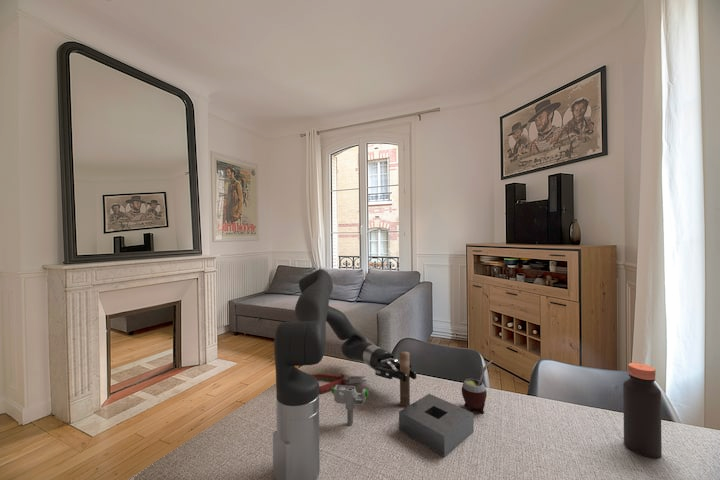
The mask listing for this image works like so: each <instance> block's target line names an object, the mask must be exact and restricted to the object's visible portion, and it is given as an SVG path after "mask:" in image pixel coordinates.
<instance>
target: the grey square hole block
mask: <svg viewBox="0 0 720 480" xmlns="http://www.w3.org/2000/svg"><path fill="white" fill-rule="evenodd" d="M474 423H475V422H474V412H473V411H472V412H470V411H468V409H465V408H463V407H460V406H458V405H456V404H455V403H452V402H449V401H447V400H445V399H443V398H440V397H438V396H436V395H433V394H431V393H428V394H427V395H425V396H423V397H422V398H420V399H418V400H416V401H415V402H412V403H410V405H409V406H407V407H403V408H402V409H400V410H399V411H398V430H399V431H400V432H401V433H403V434H405V435H407V436H408V437H410V438H411V439H414V440H415V441H417V442H418V443H420V444H422V445H424V446H425V447H426V448H428V449H431V450H432V451H433V452H435V453H437V454H438V455H440V456H441V457H443V458H445V457H447V456H448V455H449V454H450V453H451V452H452V451H454V450H455V449H456V448H457V447H458V446H460V444H462V443H463V441H465V440H466V439H467V438H469V437H470V435H472V434H473V433H474V429H475V428H474Z"/></svg>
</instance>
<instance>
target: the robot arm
mask: <svg viewBox="0 0 720 480" xmlns="http://www.w3.org/2000/svg"><path fill="white" fill-rule="evenodd" d="M333 285H334V284H333V279H332V276H331V275H330V274H329V273H328V271H326V270H324V269H323V268H322V269H317V270H315V271H313V272H311V273H310V274H307V275H305V276H303V277H302V278H300V279H299V281H298V287H299V290H300V292H301V293H300V295H299V296H298V299H297V300H296V301H297V302H296V304H295V307H294V313H295V317H296V319H297V321H283V322H281V323H279V324H278V326H277V327H276V330H275V332H274V340H273V341H274V343H273V345H274V346H273V347H274V348H273V350H274V363H275V386H276V387H275V388H276V389H275V390H276V393H275V394H276V431H275V430H274V432H273V433H272V476H273V478H274V480H317V479H318V477H319V476H320V472H321V471H320V464H321V462H320V460H321V459H320V394H319V386H320V383H319V380H317V379H316V378H315V377H314V376H312V375H313V374H310V373H307V372H305V371H302V370H300V369H299V368H297V366H298V367H299V366H300V367H302V366H314V365H318V364H319V363H321V362H322V360H323V358H324V356H325V355H324V354H325V351H326V340H327V338H326V335H327V334H326V332H327V330H326V327H327V326H326V325H327V324H328V325H329V327H330V328H331V330H332V331H333V333H334V334H335V335H336V337H337V338H338V339H339V340H340V341H344V342H343V343H342V344H341V348H340V349H341V353H342V355H343V356H344V357H345V358H347V359H349V360H353V361H359V362H363V363H364V364H366V366H368V367H369V368H371V369H373V370H374V371H375V372H374V373H375V376H377V377H381V378H385V379H387V380H392V379H393V378H394V379H395V380H396V379H397V380H399V381H400V380H401V381H404V382H407V381H408V376H407V374H405V373H403V372H401V371H400V359H397V358H395V356H394V355H393V353H391V352H390V351H388V350H386V349H384V348H382V347H380V346H379V345H378V346H377V345H374V344H372V343H371V342H368V341H367V338H366V336H365V335H363V334H362V333H361V332H359V331H358V330H357V329H356V328H355V327H354V326H353V325H352V323H351V321H350V320H349V319H348V317H347V316H346V314H345V313H344V312H342V311H341V310H339V309H338V308H335V307H332V306H330V298H331V294H332V292H333V289H334V286H333ZM410 379H412V380H416V379H417V371H415V370H413V364H412V363H411V362H410Z"/></svg>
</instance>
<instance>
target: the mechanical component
mask: <svg viewBox="0 0 720 480" xmlns="http://www.w3.org/2000/svg"><path fill="white" fill-rule="evenodd" d="M331 394H333V396H334V397H333V398H334V402H335V403H337V404H343V405H345V410H347V411H346V413H347V419H346V420H347V426H349V427H352V425H353V423H354V409H355V408H356V406H363V405H364V404H365V401H366V399H367V398H369V390H368V389H366V388H362V391H361V392H358V391H357V389H356V386H353V385H346V386H345V385H336V386H335V387H332V390H331Z"/></svg>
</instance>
